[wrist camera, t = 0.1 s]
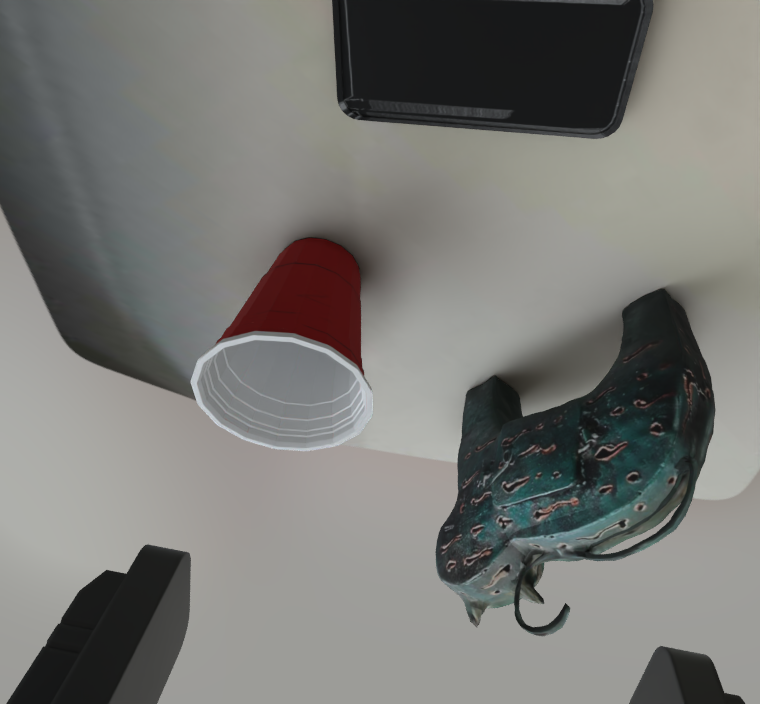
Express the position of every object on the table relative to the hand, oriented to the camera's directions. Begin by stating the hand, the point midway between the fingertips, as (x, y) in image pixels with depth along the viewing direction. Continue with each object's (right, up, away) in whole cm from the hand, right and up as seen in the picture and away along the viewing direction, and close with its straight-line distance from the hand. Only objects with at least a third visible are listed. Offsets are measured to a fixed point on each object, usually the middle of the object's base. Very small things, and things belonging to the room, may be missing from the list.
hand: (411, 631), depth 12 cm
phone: (+5, +20, +24) cm, 32 cm away
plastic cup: (-4, +11, +37) cm, 39 cm away
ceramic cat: (+13, +5, +40) cm, 42 cm away
